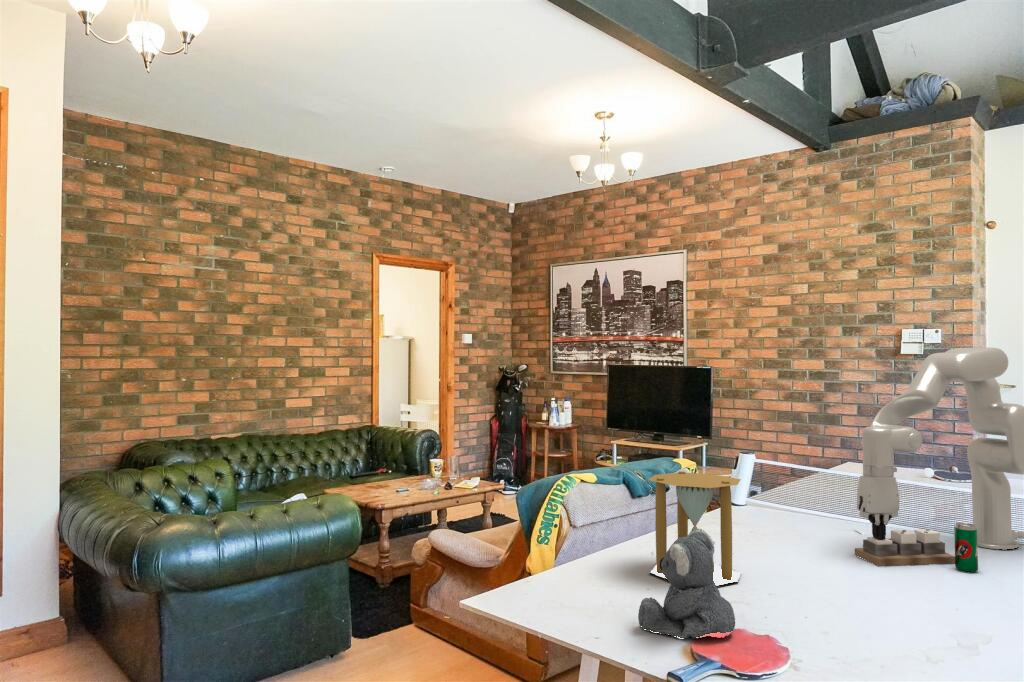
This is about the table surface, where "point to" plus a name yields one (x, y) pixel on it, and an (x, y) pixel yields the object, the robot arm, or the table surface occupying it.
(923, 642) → the table surface
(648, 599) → the koala plush
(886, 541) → the one dot button
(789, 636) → the table surface
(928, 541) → the two dot button
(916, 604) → the table surface
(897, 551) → the button panel
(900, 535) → the three dot button
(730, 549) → the hourglass
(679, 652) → the table surface
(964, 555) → the soda can
